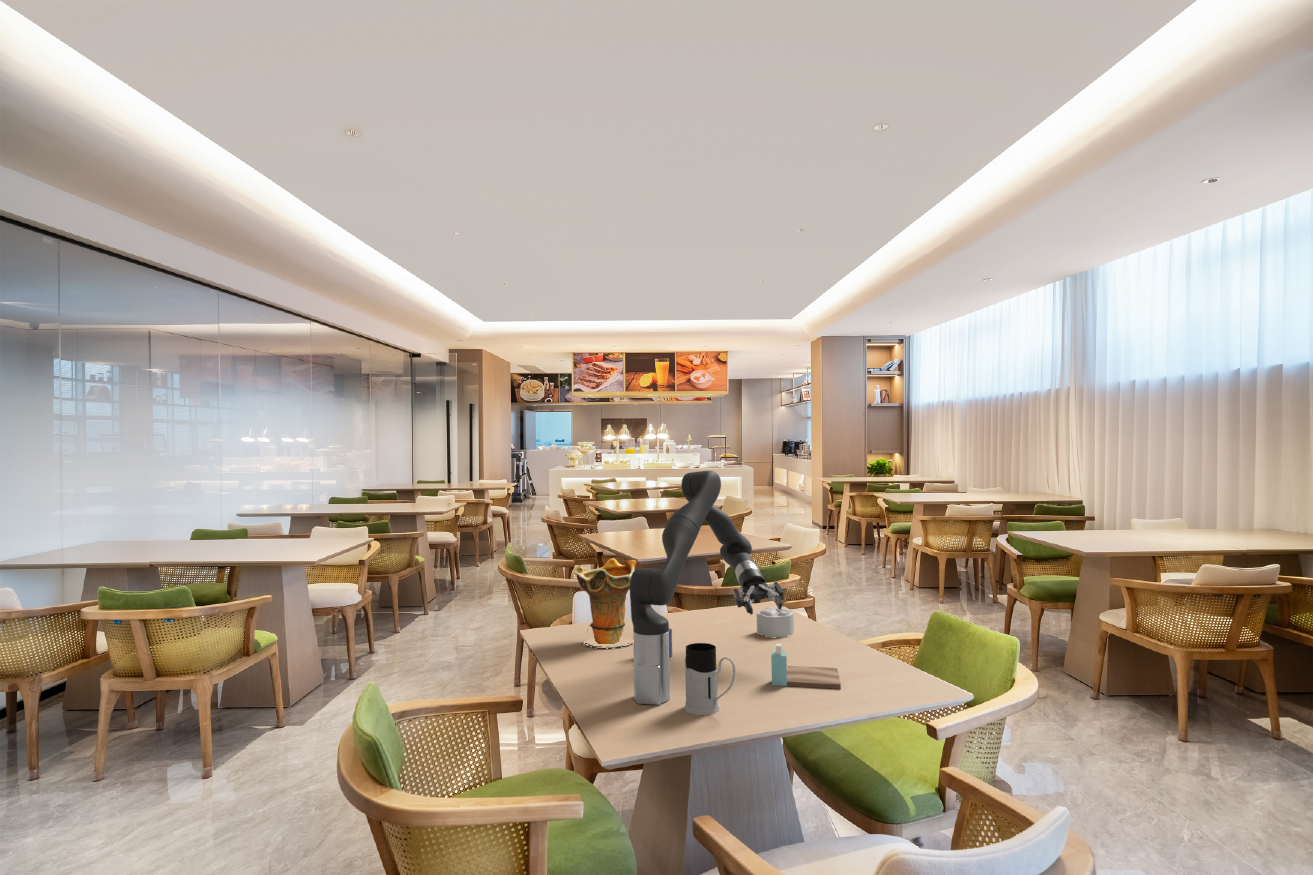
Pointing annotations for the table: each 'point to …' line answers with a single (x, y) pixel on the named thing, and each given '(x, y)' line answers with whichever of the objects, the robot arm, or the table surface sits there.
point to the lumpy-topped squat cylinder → (775, 622)
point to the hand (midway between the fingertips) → (766, 609)
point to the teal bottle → (779, 666)
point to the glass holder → (702, 679)
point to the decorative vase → (607, 598)
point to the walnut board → (813, 677)
